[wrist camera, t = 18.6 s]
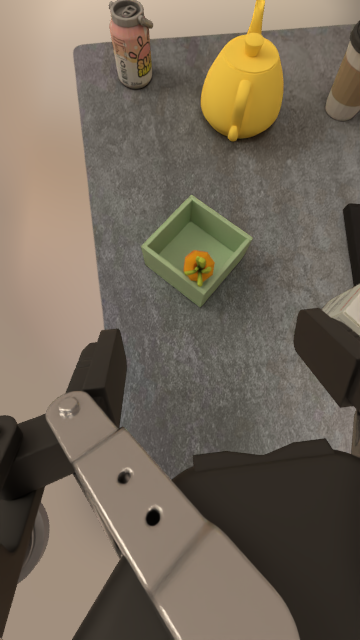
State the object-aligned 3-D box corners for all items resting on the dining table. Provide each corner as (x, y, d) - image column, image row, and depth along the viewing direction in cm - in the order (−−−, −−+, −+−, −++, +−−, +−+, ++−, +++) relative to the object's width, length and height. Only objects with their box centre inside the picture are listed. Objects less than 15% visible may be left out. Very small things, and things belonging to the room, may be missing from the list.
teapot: (210, 67, 65) (219, -16, 51) (281, 79, 64) (309, -2, 51) (191, 145, 58) (195, 73, 45) (269, 159, 58) (297, 90, 44)
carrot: (198, 278, 51) (207, 295, 37) (176, 264, 50) (177, 277, 36) (212, 255, 49) (227, 264, 35) (190, 241, 49) (196, 245, 34)
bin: (200, 307, 48) (204, 295, 42) (145, 265, 51) (140, 246, 44) (243, 257, 51) (253, 237, 45) (189, 218, 53) (191, 194, 47)
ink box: (322, 350, 47) (370, 337, 35) (301, 330, 48) (341, 312, 36) (351, 317, 48) (406, 295, 37) (330, 299, 49) (376, 272, 38)
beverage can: (134, 58, 65) (125, -13, 53) (162, 72, 64) (159, 2, 52) (111, 81, 63) (97, 11, 51) (139, 95, 62) (131, 28, 50)
